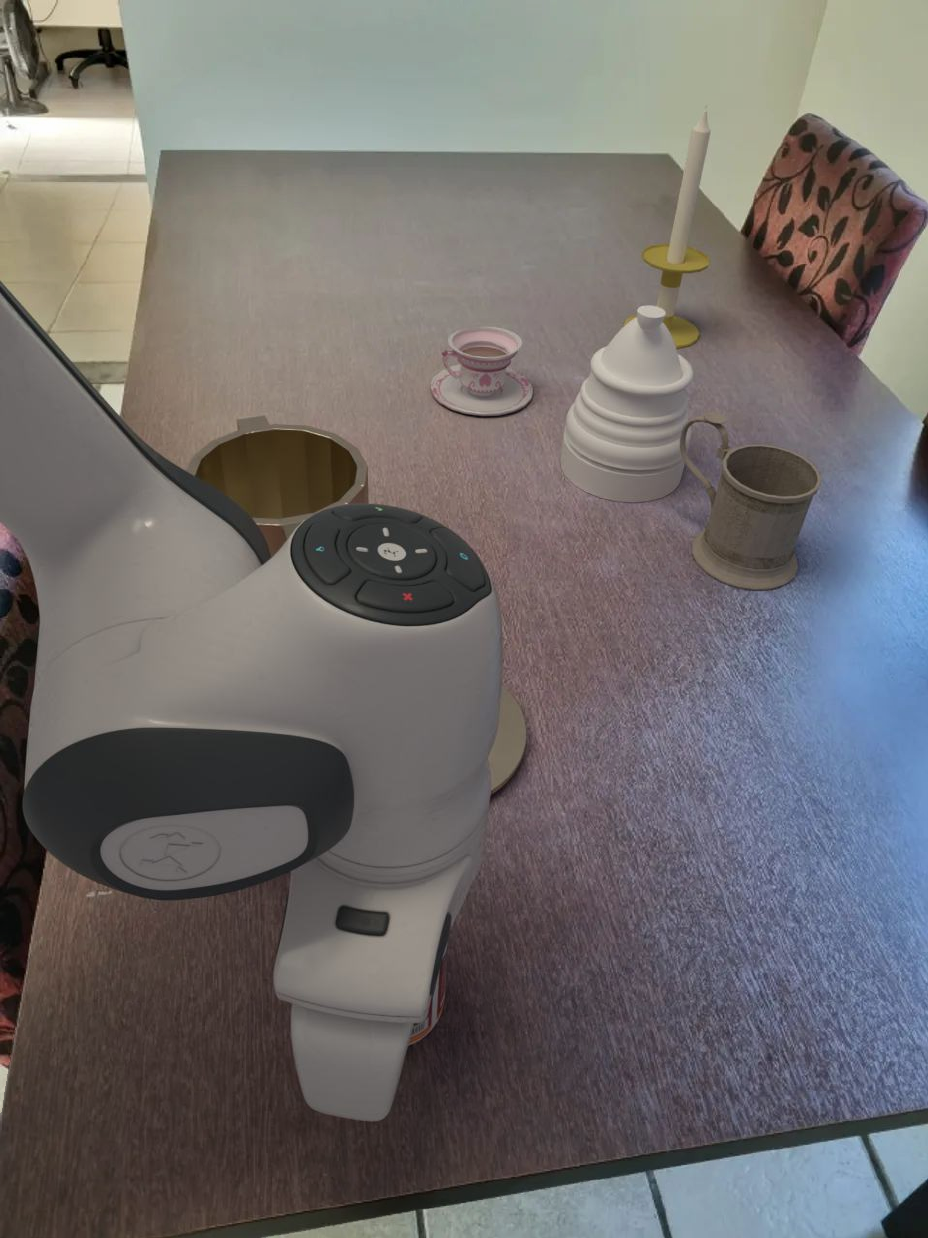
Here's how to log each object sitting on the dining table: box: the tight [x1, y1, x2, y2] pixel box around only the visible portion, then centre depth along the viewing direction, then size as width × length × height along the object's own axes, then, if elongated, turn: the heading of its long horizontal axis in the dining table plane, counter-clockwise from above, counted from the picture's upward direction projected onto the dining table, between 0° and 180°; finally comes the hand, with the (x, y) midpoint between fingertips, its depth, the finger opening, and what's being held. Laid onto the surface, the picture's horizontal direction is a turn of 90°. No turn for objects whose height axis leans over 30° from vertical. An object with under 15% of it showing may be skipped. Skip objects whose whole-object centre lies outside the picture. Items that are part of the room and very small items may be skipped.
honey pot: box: [559, 305, 695, 504], centre depth 93 cm, size 13×13×18 cm
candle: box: [622, 104, 712, 349], centre depth 115 cm, size 10×10×27 cm
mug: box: [680, 411, 822, 592], centre depth 86 cm, size 14×10×12 cm
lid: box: [488, 683, 527, 796], centre depth 69 cm, size 15×15×5 cm
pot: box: [185, 415, 370, 558], centre depth 76 cm, size 14×19×14 cm
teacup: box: [429, 325, 534, 417], centre depth 107 cm, size 12×12×6 cm
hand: (391, 966), depth 53 cm, fingers closed on pill bottle, 6 cm apart
